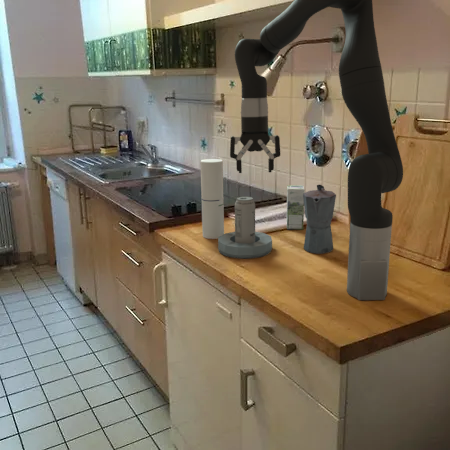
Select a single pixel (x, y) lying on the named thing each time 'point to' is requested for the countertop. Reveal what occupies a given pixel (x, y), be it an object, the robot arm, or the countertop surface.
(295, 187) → the syrup box
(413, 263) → the countertop surface
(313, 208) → the moka pot
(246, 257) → the blue-grey ring
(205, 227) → the cylindrical container
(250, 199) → the energy drink can
